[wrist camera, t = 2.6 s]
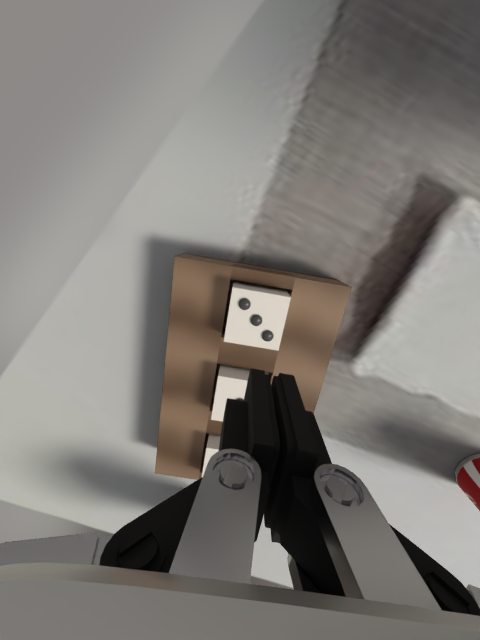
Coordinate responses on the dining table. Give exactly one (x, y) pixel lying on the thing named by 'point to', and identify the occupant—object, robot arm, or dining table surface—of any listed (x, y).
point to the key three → (256, 316)
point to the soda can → (470, 478)
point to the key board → (235, 349)
